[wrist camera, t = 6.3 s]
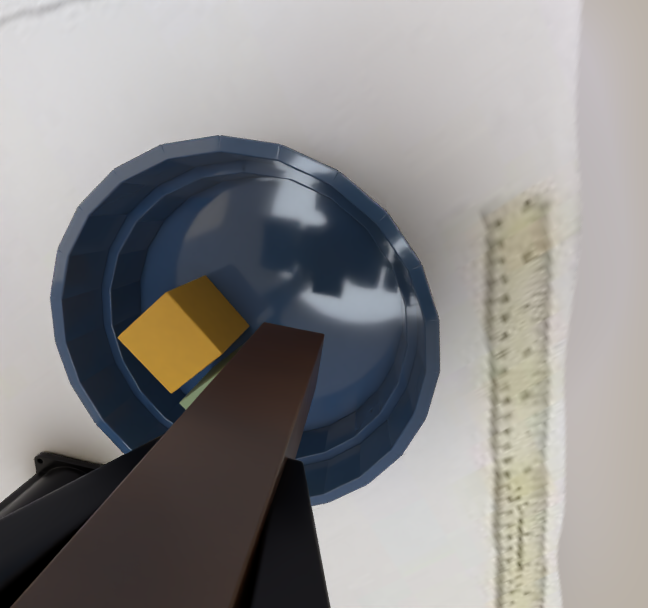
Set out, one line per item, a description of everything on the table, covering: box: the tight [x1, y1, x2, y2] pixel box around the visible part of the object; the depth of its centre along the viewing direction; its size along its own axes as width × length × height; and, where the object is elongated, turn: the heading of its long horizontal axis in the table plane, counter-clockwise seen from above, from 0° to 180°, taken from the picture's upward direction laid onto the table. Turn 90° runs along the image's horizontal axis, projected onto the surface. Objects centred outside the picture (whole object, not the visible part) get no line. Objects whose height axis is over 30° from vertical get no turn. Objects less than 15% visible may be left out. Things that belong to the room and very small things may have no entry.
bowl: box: [50, 135, 440, 506], centre depth 18 cm, size 18×18×6 cm
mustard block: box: [118, 276, 249, 393], centre depth 18 cm, size 4×4×4 cm
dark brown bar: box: [10, 322, 325, 608], centre depth 7 cm, size 2×2×12 cm
